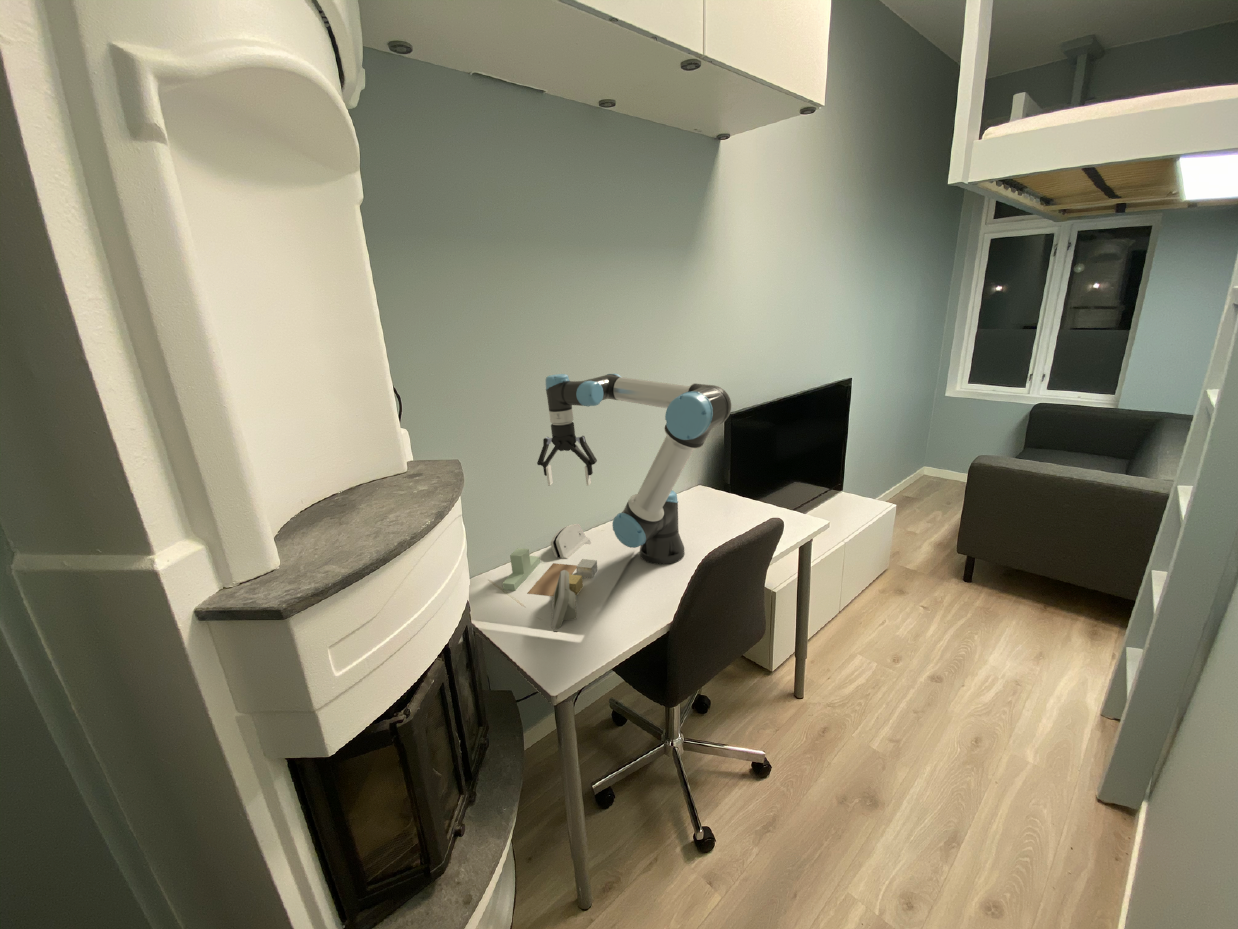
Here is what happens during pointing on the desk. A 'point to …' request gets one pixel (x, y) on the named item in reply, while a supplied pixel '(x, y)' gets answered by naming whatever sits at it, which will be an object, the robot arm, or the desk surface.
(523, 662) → the desk surface
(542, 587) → the deck
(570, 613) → the grey picture frame
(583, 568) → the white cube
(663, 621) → the desk surface
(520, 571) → the stepped sage beam
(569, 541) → the white curved block
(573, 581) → the mustard yellow cube
